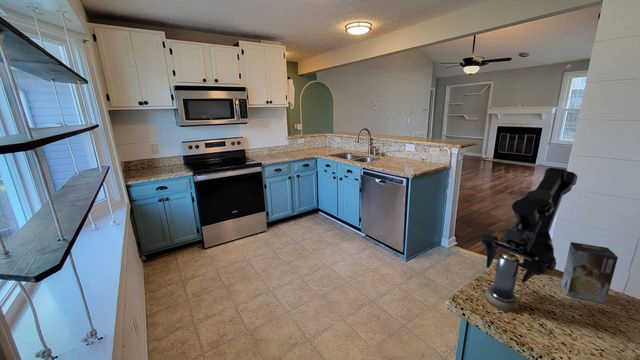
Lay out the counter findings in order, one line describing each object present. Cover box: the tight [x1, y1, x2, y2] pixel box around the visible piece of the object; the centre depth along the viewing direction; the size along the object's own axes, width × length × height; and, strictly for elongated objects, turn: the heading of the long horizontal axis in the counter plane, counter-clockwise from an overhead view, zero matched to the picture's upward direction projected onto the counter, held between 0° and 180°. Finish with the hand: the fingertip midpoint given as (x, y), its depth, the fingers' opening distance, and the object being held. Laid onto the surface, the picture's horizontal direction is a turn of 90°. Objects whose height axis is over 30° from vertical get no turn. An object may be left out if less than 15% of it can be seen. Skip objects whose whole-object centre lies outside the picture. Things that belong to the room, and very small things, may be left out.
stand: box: [484, 286, 519, 312], centre depth 82 cm, size 8×8×2 cm
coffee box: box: [560, 241, 619, 304], centre depth 83 cm, size 9×6×16 cm
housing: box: [490, 251, 521, 303], centre depth 80 cm, size 6×6×14 cm
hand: (504, 274), depth 79 cm, fingers open, 9 cm apart
